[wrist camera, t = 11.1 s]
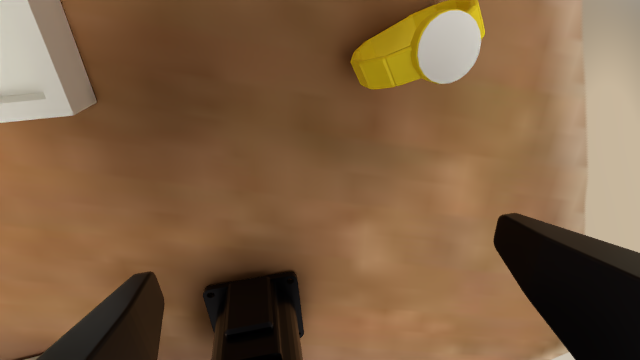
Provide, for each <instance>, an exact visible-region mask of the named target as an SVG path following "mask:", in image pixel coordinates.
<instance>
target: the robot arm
mask: <svg viewBox="0 0 640 360" xmlns="http://www.w3.org/2000/svg"><path fill="white" fill-rule="evenodd" d="M494 246H495V248H496V250H497V252H498V253H499V255H500V256H501V258H502V259H503V261H504V263H505V264H506V266H507V267H508V269H509V270H510V272H511V274H512V275H513V277H514V278H515V280H516V281H517V283H518V285H519V286H520V288H521V289H522V291H523V292H524V294H525V295H526V296H527V298H528V299H529V301H530V302H531V303H532V305H533V306H534V307H535V308H536V310H537V311H538V312H539V314H540V315H541V316H542V317H543V319H544V320H545V321H546V323H547V324H548V325H549V326H550V328H551V329H552V330H553V332H554V333H555V334H556V335H557V337H558V338H559V339H560V341H561V342H562V343H563V344H564V346H565V347H566V348H567V350H568V351H569V352H570V353H571V355H572V356H573V357H574V359H575V360H640V253H638V252H635V251H632V250H629V249H626V248H623V247H619V246H616V245H613V244H610V243H607V242H604V241H601V240H598V239H595V238H592V237H589V236H586V235H583V234H579V233H576V232H573V231H570V230H567V229H564V228H561V227H558V226H555V225H552V224H549V223H545V222H542V221H539V220H536V219H533V218H530V217H527V216H524V215H521V214H518V213H510V214H504V215H501V216H500V217H499V218H498V221H497V226H496V230H495V235H494ZM290 278H292V280H288V279H290ZM210 292H212V293H213V294H210ZM203 297H204V301H205V304H206V307H207V311H208V314H209V317H210V321H211V324H212V328H213V331H214V342H213V351H212V359H211V360H303V357H302V350H301V343H300V338H301V337H302V336H303V335H304V330H303V322H302V314H301V305H300V297H299V289H298V281H297V275H296V274H295V273H294V272H286V273H280V274H274V275H269V276H263V277H257V278H251V279H245V280H239V281H233V282H228V283H222V284H216V285H210V286H207V287H206V288H205V289H204V292H203ZM163 311H164V297H163V294H162V291H161V289H160V286H159V283H158V281H157V278H156V276H155V274H154V273H153V272H144V273H138V274H134V275H133V276H131V277H130V278H129V279H128V280H127V281H126V282H124V283H123V284H122V285H121V286H120V287H119V288H118V289H116V290H115V291H114V292H113V293H112V294H111V295H109V296H108V297H107V298H106V299H105V300H104V301H103V302H101V303H100V304H99V305H98V306H97V307H96V308H94V309H93V310H92V311H91V312H90V313H89V314H88V315H86V316H85V317H84V318H83V319H82V320H81V321H80V322H78V323H77V324H76V325H75V326H74V327H73V328H71V329H70V330H69V331H68V332H67V333H66V334H65V335H63V336H62V337H61V338H60V339H59V340H58V341H56V342H55V343H54V344H53V345H52V346H51V347H50V348H48V349H47V350H46V351H45V352H44V353H43V354H42V355H40V356H39V357H38V358H37V359H36V360H157V356H158V349H159V341H160V334H161V326H162V319H163Z"/></svg>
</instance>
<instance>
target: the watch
mask: <svg viewBox="0 0 640 360" xmlns="http://www.w3.org/2000/svg"><path fill="white" fill-rule="evenodd" d="M484 35H485V30H484V24H483V19H482V15H481V11H480V7H479V2H478V0H448V1H444V2H441V3H438V4H437V5H432V6H430V7H428V8H425V9H423V10H420V11H418V12H416V13H413V14H412V15H411V14H410V15H409V16H408V17H407V18H405V19H403V20H402V21H400V22H398V23H396V24H395V25H393V26H391V27H389V28H388V29H386V30H384V31H383V32H381V33H379V34H377V35H376V36H374V37H372V38H370V39H369V40H367V41H365V42H364V43H363V44H362V45H361V46H360V47H358V48H357V49H356V50H355V51H354V53H353V55H352V58H351V61H350V62H351V65H352V67H353V69H354V71H355V73H356V76H357V78H358V80H359V82H360V84H361V85H362V86H364V87H367V88H369V89H374V90H376V89H384V88H391V87H395V86H400V85H403V84H406V83H409V82H412V81H415V80H418V79H420V78H422V79H424V80H427V81H430V82H433V83H436V84H448V83H451V82H454V81H456V80H459V79H460V78H461V77H463V76H464V75H465V74H467V73H468V71H469V70H470V69H471V68H472V66H473V65H474V63H475V61H476V59H477V57H478V55H479V51H480V45H481V39H482V38H483V37H484Z"/></svg>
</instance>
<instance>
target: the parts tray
mask: <svg viewBox="0 0 640 360" xmlns="http://www.w3.org/2000/svg"><path fill="white" fill-rule="evenodd" d="M95 103H97V101H96V98H95V95H94V92H93V90H92V87H91V84H90V81H89V79H88V76H87V73H86V70H85V68H84V65H83V62H82V59H81V57H80V54H79V51H78V48H77V46H76V43H75V40H74V37H73V35H72V32H71V29H70V26H69V24H68V21H67V18H66V15H65V13H64V10H63V7H62V4H61V2H60V0H0V123H3V122H13V121H23V120H33V119H43V118H53V117H63V116H73V115H75V114H77V113H79V112H81V111H83V110H84V109H86V108H88V107H90V106H92V105H93V104H95Z"/></svg>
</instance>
